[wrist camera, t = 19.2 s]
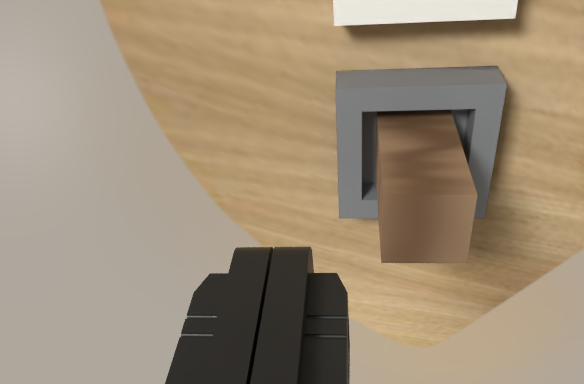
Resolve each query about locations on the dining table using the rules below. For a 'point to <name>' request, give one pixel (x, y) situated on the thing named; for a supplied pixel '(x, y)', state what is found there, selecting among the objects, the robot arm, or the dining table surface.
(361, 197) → the gray pocket tray
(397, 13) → the white pocket frame
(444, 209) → the walnut block
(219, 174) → the dining table surface
